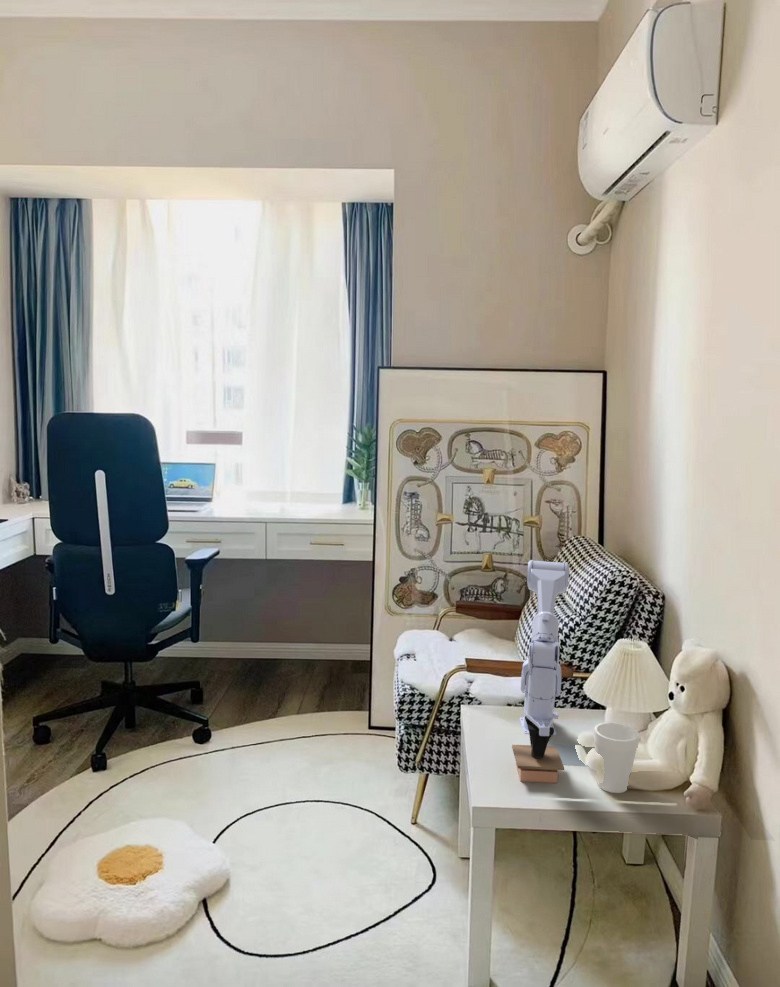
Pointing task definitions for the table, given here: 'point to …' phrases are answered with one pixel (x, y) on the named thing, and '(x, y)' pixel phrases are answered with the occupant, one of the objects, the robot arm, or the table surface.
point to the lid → (537, 758)
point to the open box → (537, 775)
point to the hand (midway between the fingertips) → (537, 752)
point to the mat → (567, 754)
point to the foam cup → (616, 753)
